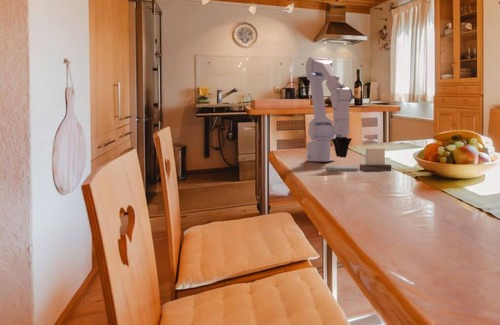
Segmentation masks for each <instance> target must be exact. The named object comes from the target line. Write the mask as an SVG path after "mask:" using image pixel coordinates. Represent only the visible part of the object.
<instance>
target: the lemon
mask: <svg viewBox="0 0 500 325" xmlns="http://www.w3.org/2000/svg"><path fill="white" fill-rule="evenodd" d="M425 148H426V147H424V148H423V149H421V150H419V152H418V153H417V156H416V158H417V157H419V158H424V150H425ZM417 165H418V166H419V168H422V167H421V166H420V165H419V164H418V163H417Z"/></svg>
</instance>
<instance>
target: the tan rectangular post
mask: <svg viewBox="0 0 500 325" xmlns="http://www.w3.org/2000/svg"><path fill="white" fill-rule="evenodd" d="M385 149H386V148H384V147H383V148H378V147H377V148H365V164H366V165H385V164H386V162H385V158H386V157H385V156H386V155H385V154H386V153H385Z"/></svg>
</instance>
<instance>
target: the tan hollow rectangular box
mask: <svg viewBox="0 0 500 325" xmlns="http://www.w3.org/2000/svg"><path fill="white" fill-rule="evenodd" d="M359 170H361V171H365V172H367V171H371V172H373V171H374V172H375V171H378V172H379V171H392V165H391V164H389V163H385V165H366V163H360V164H359Z"/></svg>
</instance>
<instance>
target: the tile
mask: <svg viewBox="0 0 500 325" xmlns="http://www.w3.org/2000/svg"><path fill="white" fill-rule="evenodd" d="M325 168H326V170H327V171H328V172H359V171H358V169H359V167H355V166H352V165H351V166H350V165H349V166H347V165H346V166H345V165H344V166H342V165H341V166H340V165H339V166H336V165H335V166H325Z"/></svg>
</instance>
